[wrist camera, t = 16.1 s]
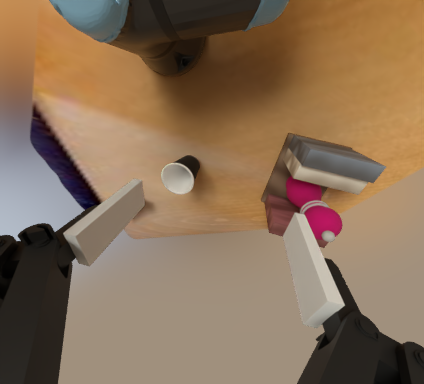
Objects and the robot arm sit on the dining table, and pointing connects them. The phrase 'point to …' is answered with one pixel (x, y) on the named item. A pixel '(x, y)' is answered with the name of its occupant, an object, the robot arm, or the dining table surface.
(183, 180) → the dixie cup
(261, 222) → the dining table surface
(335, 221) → the pepper mill
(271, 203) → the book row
